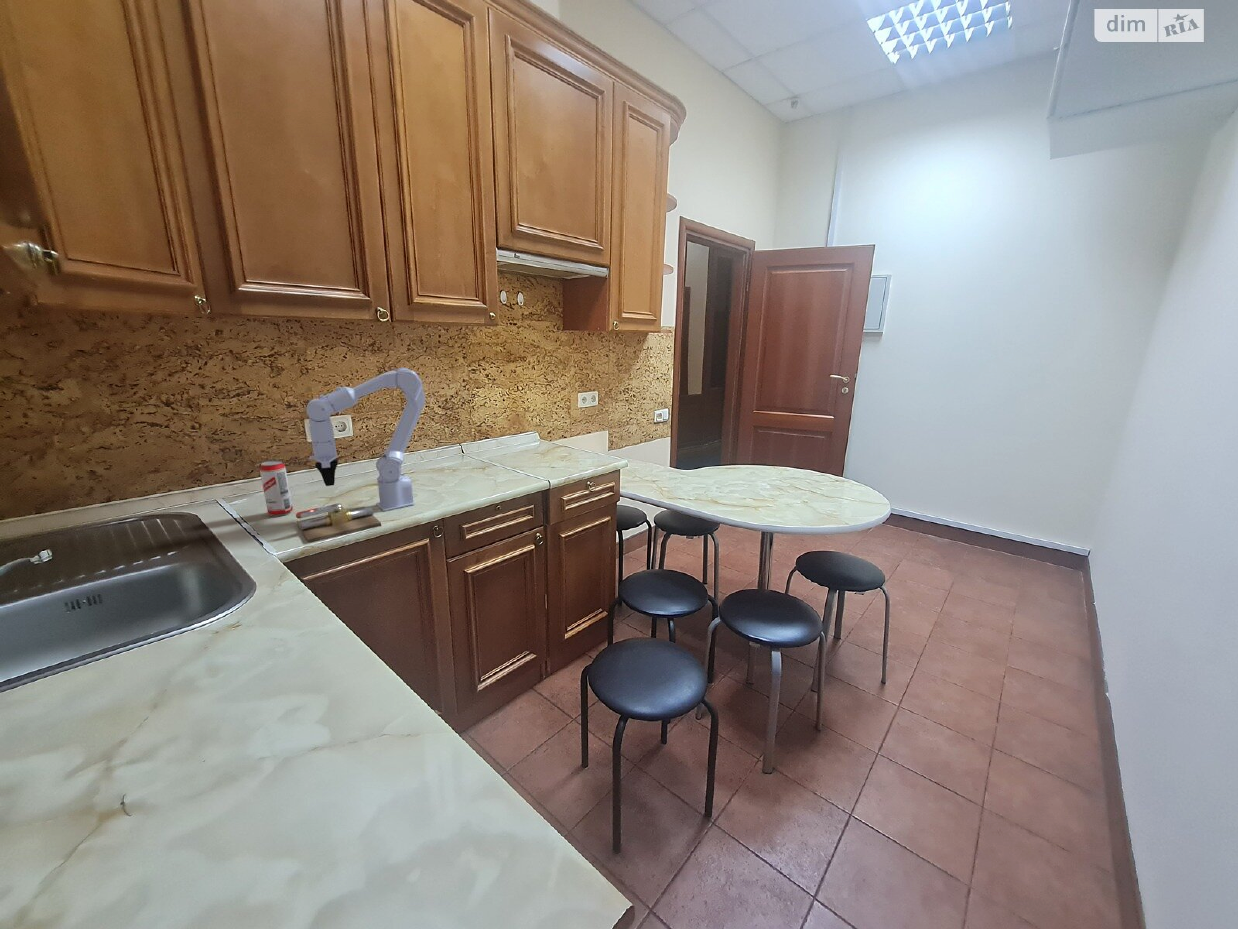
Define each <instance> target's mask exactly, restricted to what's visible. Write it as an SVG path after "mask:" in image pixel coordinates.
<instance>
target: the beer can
mask: <svg viewBox="0 0 1238 929" xmlns="http://www.w3.org/2000/svg"><path fill="white" fill-rule="evenodd" d="M260 465H261V466H260V469H259V474H260V478H261V479H260V480H261V483H262V489H263V494H264V500H265V505H266V510H267V513H268V515H270V516H272V517H283V516H286V515H289V514H291V512H292V511H293V510H294V507H293V502H292V496H291V491H290V484H289V479H288V474H287V468H286V466H285V464H284V463H283V461H282V460H267V461H263V462H261V463H260Z"/></svg>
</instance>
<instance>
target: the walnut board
mask: <svg viewBox="0 0 1238 929" xmlns="http://www.w3.org/2000/svg"><path fill="white" fill-rule="evenodd" d="M364 508H366V507H365V506H364V507H361V508H360V507H359V508H354V509H349V510H350V511H355V510H359V509H364ZM321 517H324V515H321V516H316V517H312V518H307V519H301V520H297V521H296V526H297V527H298V529H299V531H300V532H301V534H302V535H303V537H304V539H305V540H306V541H307V543H308V544H311V543H316V542H318V541H324V540H327V539H333V538H337V537H339V536H345V535H349V534H352V533H353V534H354V533H356V532H361V531H365V530H370V529H374V528H378V527H382V522H381V521H380V520H379V519H378V518H377V517H375V515H374V514H373V515H370V516H365V517H361V518H356V519H352V521H348V523H344V524H339V525H335V526H332V525H329V526H326V525H324V526H320V527H315V528H311V529H306V530H302V529H301V526H300V522H302V521H307V520H312V519H316V518H321Z"/></svg>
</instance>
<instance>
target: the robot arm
mask: <svg viewBox="0 0 1238 929" xmlns="http://www.w3.org/2000/svg"><path fill="white" fill-rule="evenodd" d="M397 387H398V388H399V389H400V390H401V392H402V393H403V396H404V398H405V399H406V401H407V402H406V404H405V406H404V408H403V411H402V413H401V416H400V419H398V420H399V421H398V423H397V425H396V428H395V429H394V433H393V435H392V436H391V439H390V441H389V444H388V446H387V447H386V449H385V450H384V453H383V454H382V455H381V456H380V457H379V458H378V459H377V461H376V463H375V467H376V470H377V471H378V474H379V475H378V477H377V478H376V480H377V487H378V490H377V491H378V496H379V502H376V503H375V505H376V506H377V507H378V508H380V509H381V510H382V511H383V512H386V511H391V510H395V509H396V510H397V509H401V508H405V507H409V506H413V505H415V502H414V501H415V500H414V494H413V493H414V492H413V485H412V484H413V483H412V482H411V478H410V477H409V476H405V475H404V476H403V475H402V471H403V470H402V464H403V461H404V457H405V456H404V455H405V452H406V450H407V447H408V444H409V442H410V440H411V437H412V435H413V432H414V431H415V429H416V426H417V424H418V421H419V419H420V416H421V414H422V411H423V409H424V407H425V404H426V396H425V392H424V388H423V381H422V380H421V378H420V376H419V375H418V373H417V372H416V371H413V370H411V369H409V368H407V367H398V368H397V369H393V370H389V371H386V372H385V373H382V374H379V375H377V376H375V377H373V378H371V379H369V380H366V381H364V382H363V383H361V384H359V385H356V386H355V387H348V386H343V387H342V386H337V387H336V388H335V390H334V391H331V392H330V393H327V394H325V395H324V394H320V395H319V398H313V399H311V400H310V401H309V402H308V403H307V405H306V414H307V416H308V417H309V418H308V423H309V426H308V427H309V433H310V434H309V435H310V440H311V445H312V452H313V455H310V456H309V460H313V461H314V460H315V468H316V469H317V471H319V473H320V475H321V477H322V480H323V483H324V484H325V487H330V486H331V487H332V486H335V481H336V480H335V479H336V478H335V477H336V476H335V475H336V469H337V467H338V463H339V461H338V459H337V458H338V452H337V447H336V441H335V434H334V427H333V424H332V421H331V415H332V414H337V413H339V412H342V411H345V410H347V409H348V408H350V407H353V406H355V405H357V403H358V401H359V399H360V398H363V397H365V396H366V395H367V396H368V395H369V394H372V393H374V392H377V391H379V390H383V389H384V388H388V389H397Z"/></svg>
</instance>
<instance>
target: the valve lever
mask: <svg viewBox="0 0 1238 929" xmlns="http://www.w3.org/2000/svg"><path fill="white" fill-rule="evenodd" d="M342 507H343V506H342V503H333V504H331V505H326V506H322V507H315V508H312V509H311V508H310V509H307V510H301V511H299V512H297V513H295V517H296V518H297V519H304V518H309V517H313V516H318V515H321V514H326V513H328V512H331V511H337V510H341V509H342Z"/></svg>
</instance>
